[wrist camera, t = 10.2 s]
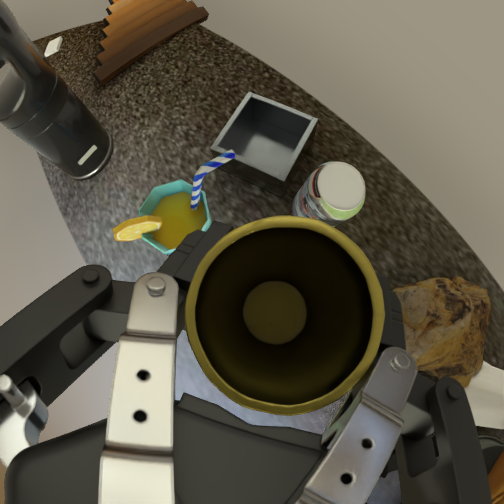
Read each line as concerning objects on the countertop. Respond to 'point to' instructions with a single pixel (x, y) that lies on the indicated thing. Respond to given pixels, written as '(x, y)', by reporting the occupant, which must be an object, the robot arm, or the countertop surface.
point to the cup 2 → (487, 397)
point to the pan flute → (140, 31)
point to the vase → (284, 315)
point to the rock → (445, 326)
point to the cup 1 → (172, 211)
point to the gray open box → (265, 143)
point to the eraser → (53, 46)
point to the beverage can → (330, 194)
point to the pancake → (497, 480)
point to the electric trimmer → (392, 460)
